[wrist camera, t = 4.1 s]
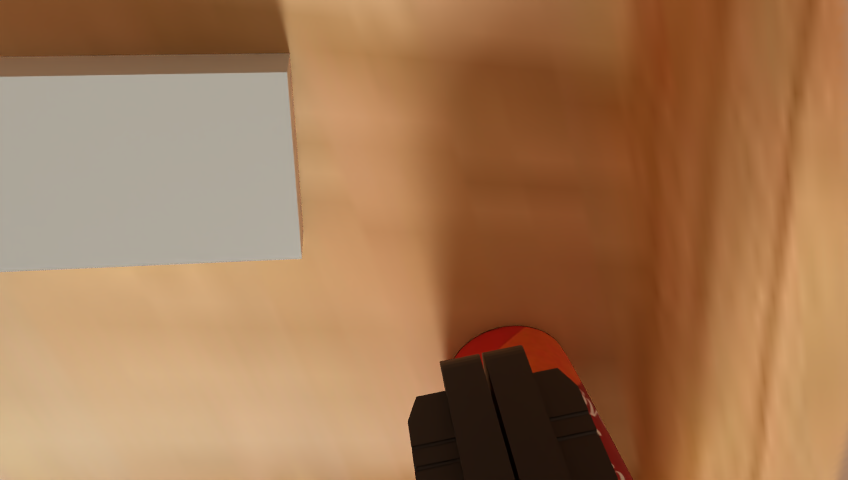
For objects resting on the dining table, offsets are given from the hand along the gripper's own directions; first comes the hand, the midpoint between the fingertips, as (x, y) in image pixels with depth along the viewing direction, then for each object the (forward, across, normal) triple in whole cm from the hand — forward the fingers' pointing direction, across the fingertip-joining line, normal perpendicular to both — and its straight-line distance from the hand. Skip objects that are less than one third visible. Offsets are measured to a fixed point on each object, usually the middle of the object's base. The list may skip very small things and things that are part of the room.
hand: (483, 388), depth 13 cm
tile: (+16, +11, 0) cm, 19 cm away
